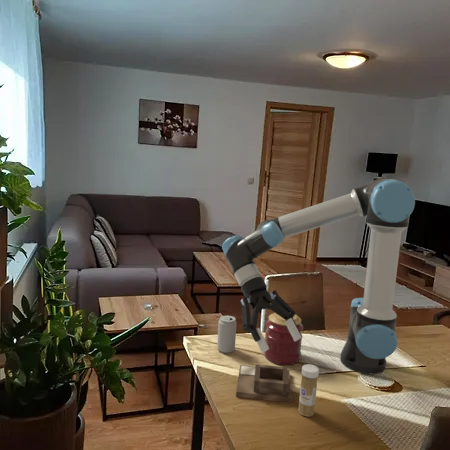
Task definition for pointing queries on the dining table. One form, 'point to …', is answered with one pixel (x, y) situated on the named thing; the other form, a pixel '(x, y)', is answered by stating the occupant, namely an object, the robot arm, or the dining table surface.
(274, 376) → the spice caddy
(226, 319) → the beverage can
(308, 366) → the sprinkles bottle
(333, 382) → the dining table surface
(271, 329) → the canister
